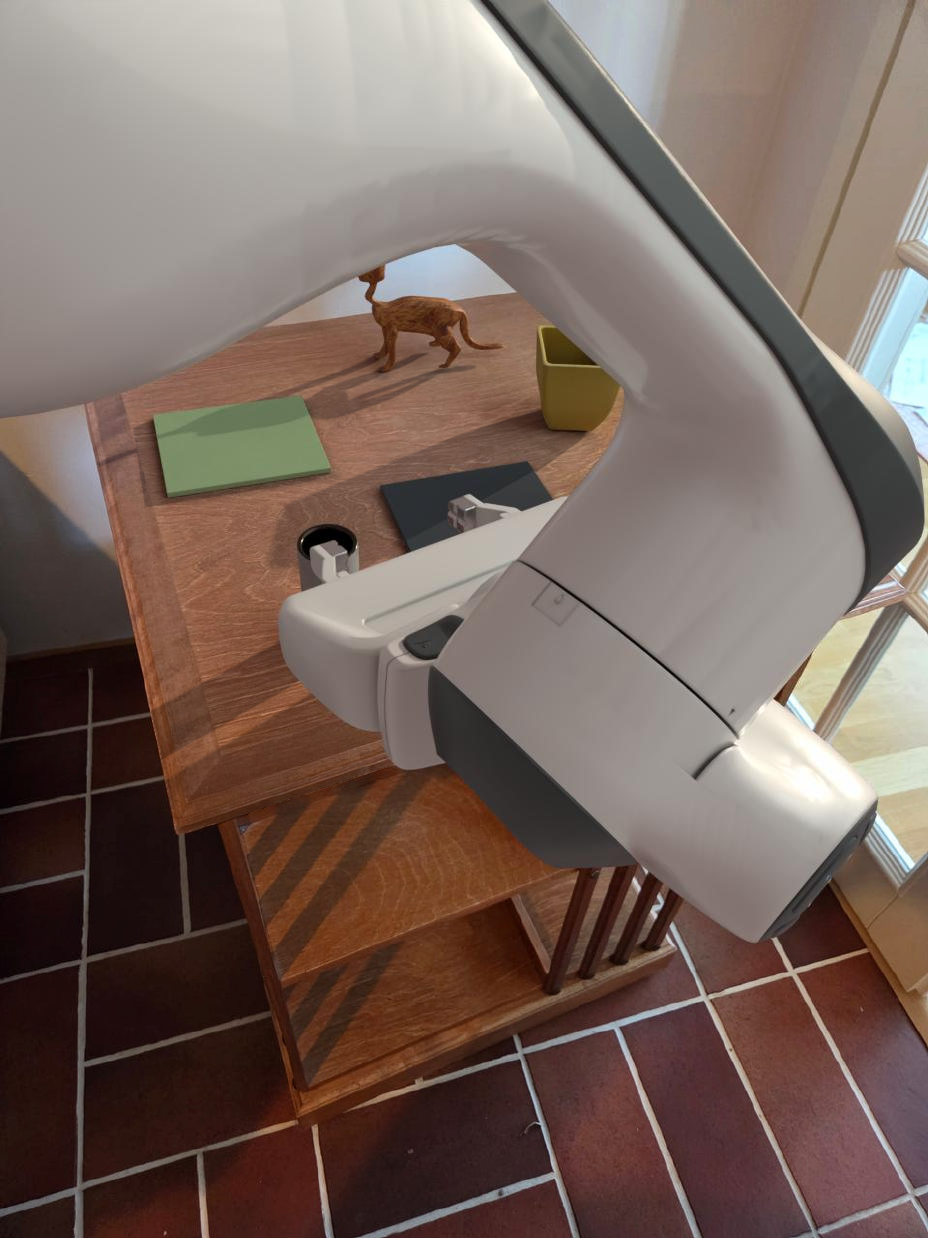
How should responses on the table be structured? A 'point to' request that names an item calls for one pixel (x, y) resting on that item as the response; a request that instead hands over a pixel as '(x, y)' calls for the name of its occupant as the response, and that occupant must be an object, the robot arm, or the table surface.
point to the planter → (320, 536)
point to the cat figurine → (418, 321)
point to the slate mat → (427, 498)
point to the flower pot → (571, 384)
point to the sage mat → (238, 445)
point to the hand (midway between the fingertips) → (392, 529)
